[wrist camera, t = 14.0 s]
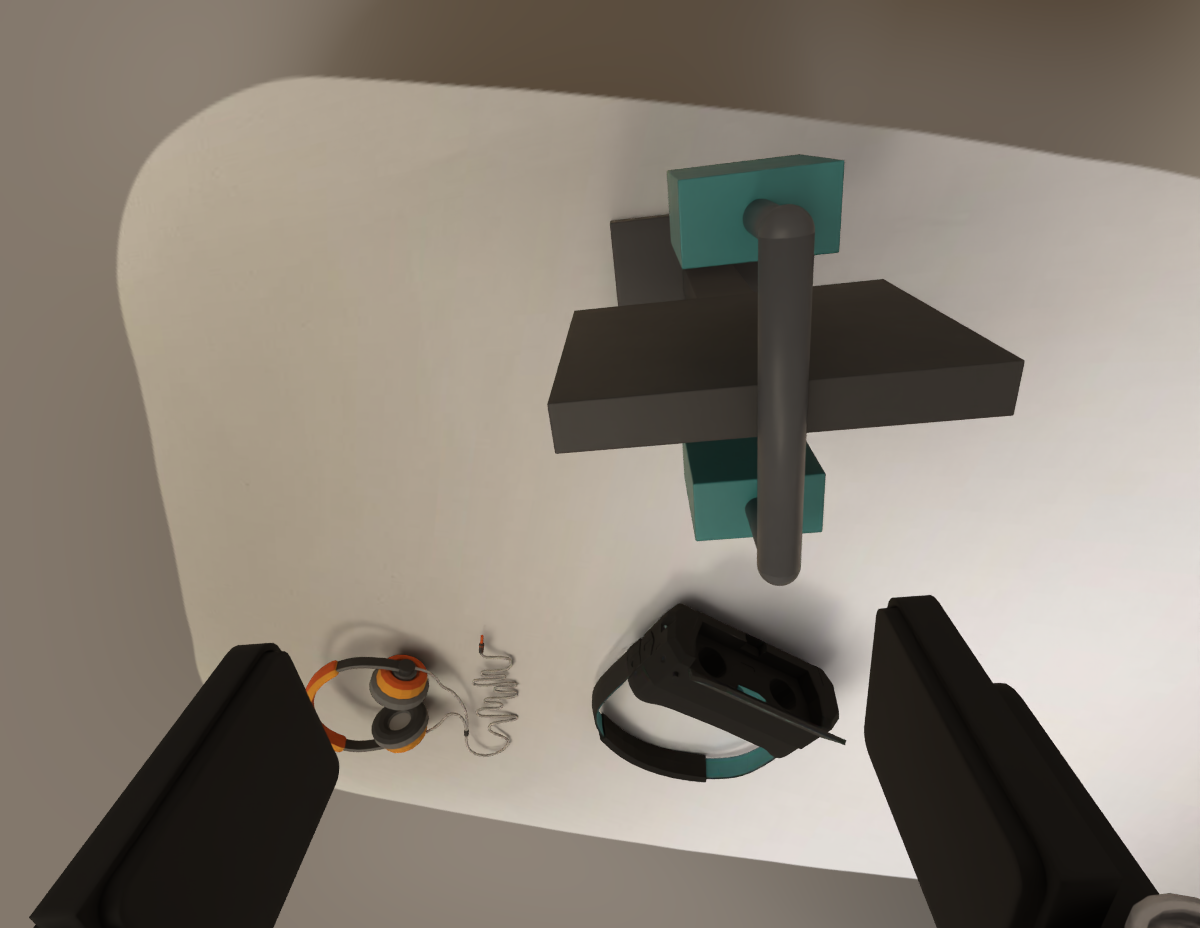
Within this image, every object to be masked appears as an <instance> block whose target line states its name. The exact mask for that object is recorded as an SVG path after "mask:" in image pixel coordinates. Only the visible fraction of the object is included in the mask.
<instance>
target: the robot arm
mask: <svg viewBox="0 0 1200 928" xmlns="http://www.w3.org/2000/svg"><path fill="white" fill-rule="evenodd" d="M864 736H865V743H866V747H867V751H868V754H869V756H870V759H871V762H872V764H873V767H874V769H875V772H876V774H877V777H878V779H879V782H880V784H881V787H882V789H883V792H884V795H885V797H886V800H887V802H888V805H889V807H890V810H891V812H892V815H893V817H894V820H895V822H896V825H897V828H898V830H899V833H900V835H901V838H902V840H903V843H904V845H905V848H906V850H907V853H908V855H909V858H910V861H911V863H912V866H913V868H914V871H915V873H916V876H917V878H918V881H919V883H920V886H921V888H922V891H923V894H924V896H925V898H926V901H927V904H928V906H929V909H930V911H931V914H932V916H933V919H934V921H935V924H936V927H937V928H1200V899H1198V898H1195V897H1189V896H1183V895H1177V894H1172V893H1167V894H1159V893H1158V891H1157V890H1156V889H1155V887H1154V886H1153V884H1152V883H1151V881H1150V880H1149V879H1148V877H1147V876H1146V874H1145V873H1144V871H1143V870H1142V869H1141V867H1140V866H1139V864H1138V863H1137V861H1136V860H1135V859H1134V857H1133V856H1132V854H1131V853H1130V851H1129V850H1128V849H1127V847H1126V846H1125V844H1124V843H1123V842H1122V840H1121V839H1120V837H1119V836H1118V834H1117V833H1116V832H1115V830H1114V829H1113V827H1112V826H1111V824H1110V823H1109V822H1108V820H1107V819H1106V817H1105V816H1104V814H1103V813H1102V812H1101V810H1100V809H1099V807H1098V806H1097V804H1096V803H1095V802H1094V800H1093V799H1092V797H1091V796H1090V794H1089V793H1088V792H1087V790H1086V789H1085V787H1084V786H1083V784H1082V783H1081V782H1080V780H1079V779H1078V777H1077V776H1076V774H1075V773H1074V772H1073V770H1072V769H1071V767H1070V766H1069V765H1068V763H1067V762H1066V760H1065V759H1064V757H1063V756H1062V755H1061V753H1060V752H1059V750H1058V749H1057V747H1056V746H1055V745H1054V743H1053V742H1052V740H1051V739H1050V737H1049V736H1048V735H1047V733H1046V732H1045V730H1044V729H1043V727H1042V726H1041V725H1040V723H1039V722H1038V720H1037V719H1036V717H1035V716H1034V715H1033V713H1032V712H1031V710H1030V709H1029V707H1028V706H1027V705H1026V703H1025V702H1024V700H1023V699H1022V698H1021V697H1020V695H1019V694H1018V693H1017V692H1016V691H1015V690H1014V689H1013V688H1012V687H1010V686H1009V685H1007V684H1005V683H992V681H991V680H990V678H989V677H988V675H987V674H986V672H985V671H984V669H983V668H982V666H981V665H980V663H979V662H978V660H977V659H976V657H975V656H974V654H973V653H972V651H971V650H970V648H969V647H968V645H967V644H966V642H965V641H964V639H963V638H962V636H961V635H960V633H959V632H958V630H957V629H956V627H955V626H954V624H953V623H952V621H951V620H950V618H949V617H948V615H947V614H946V612H945V611H944V609H943V608H942V606H941V605H940V603H939V602H938V601H937V599H936V598H935V597H933V596H931V595H925V596H911V597H897V598H891V599H890V601H889V603H888V607H887V608H882V609H878V611H877V614H876V622H875V632H874V641H873V650H872V660H871V669H870V678H869V688H868V697H867V706H866V716H865V725H864ZM338 775H339V761H338V757H337V755H336V753H335V751H334V749H333V747H332V744H331V742H330V740H329V738H328V736H327V734H326V732H325V730H324V728H323V725H322V723H321V721H320V719H319V717H318V715H317V713H316V711H315V708H314V706H313V704H312V702H311V700H310V698H309V696H308V694H307V692H306V689H305V687H304V685H303V683H302V681H301V679H300V677H299V675H298V672H297V670H296V668H295V666H294V664H293V662H292V660H291V658H290V656H289V655H288V653H286V652H285V651H281V650H280V648H279V647H278V646H277V645H276V644H274V643H263V644H249V645H237V646H235V647H233V648H232V649H231V650H230V651H229V652H228V653H227V654H226V656H225V657H224V658H223V660H222V661H221V662H220V664H219V665H218V666H217V668H216V669H215V670H214V672H213V673H212V674H211V676H210V677H209V678H208V680H207V681H206V682H205V684H204V685H203V686H202V688H201V689H200V690H199V692H198V693H197V694H196V696H195V697H194V698H193V700H192V701H191V702H190V704H189V705H188V706H187V708H186V709H185V710H184V712H183V713H182V714H181V716H180V717H179V718H178V720H177V721H176V722H175V724H174V725H173V726H172V728H171V729H170V730H169V732H168V733H167V734H166V736H165V737H164V738H163V740H162V741H161V742H160V744H159V745H158V746H157V748H156V749H155V750H154V752H153V753H152V754H151V756H150V757H149V759H148V760H147V761H146V762H145V764H144V765H143V766H142V768H141V769H140V770H139V772H138V773H137V774H136V776H135V777H134V778H133V780H132V781H131V782H130V784H129V785H128V786H127V788H126V789H125V790H124V792H123V793H122V794H121V796H120V797H119V798H118V800H117V801H116V802H115V804H114V805H113V806H112V808H111V809H110V810H109V812H108V813H107V814H106V816H105V817H104V818H103V820H102V821H101V822H100V824H99V825H98V826H97V828H96V829H95V831H94V832H93V833H92V834H91V836H90V837H89V838H88V840H87V841H86V842H85V844H84V845H83V846H82V848H81V849H80V850H79V852H78V853H77V854H76V856H75V857H74V858H73V860H72V861H71V862H70V864H69V865H68V866H67V868H66V869H65V870H64V872H63V873H62V874H61V876H60V877H59V878H58V880H57V881H56V882H55V884H54V885H53V886H52V888H51V889H50V890H49V892H48V893H47V894H46V896H45V897H44V898H43V900H42V901H41V902H40V904H39V905H38V906H37V908H36V909H35V910H34V912H33V913H32V914H31V916H30V917H29V918H30V919H31V920H32V921H33V922H34V923H35V924H36V925H35V926H34V928H273V927H274V925H275V923H276V920H277V918H278V916H279V913H280V911H281V909H282V906H283V904H284V902H285V900H286V897H287V895H288V893H289V890H290V888H291V886H292V883H293V881H294V879H295V877H296V874H297V872H298V870H299V867H300V865H301V863H302V861H303V858H304V856H305V854H306V851H307V849H308V847H309V845H310V842H311V840H312V838H313V835H314V833H315V831H316V828H317V826H318V824H319V822H320V819H321V817H322V815H323V812H324V810H325V808H326V805H327V803H328V801H329V799H330V796H331V794H332V792H333V789H334V787H335V785H336V782H337V779H338Z"/></svg>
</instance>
